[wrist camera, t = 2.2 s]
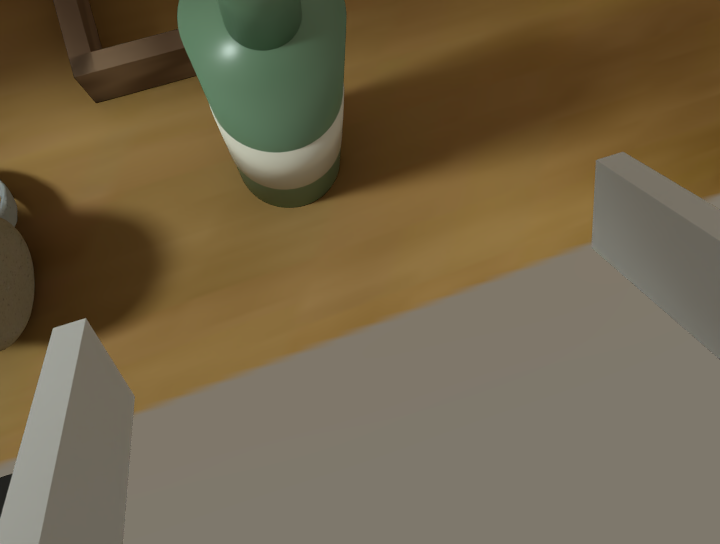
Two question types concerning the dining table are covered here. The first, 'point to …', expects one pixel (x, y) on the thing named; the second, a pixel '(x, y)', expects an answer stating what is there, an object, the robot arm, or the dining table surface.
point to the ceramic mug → (13, 273)
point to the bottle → (273, 89)
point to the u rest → (118, 56)
